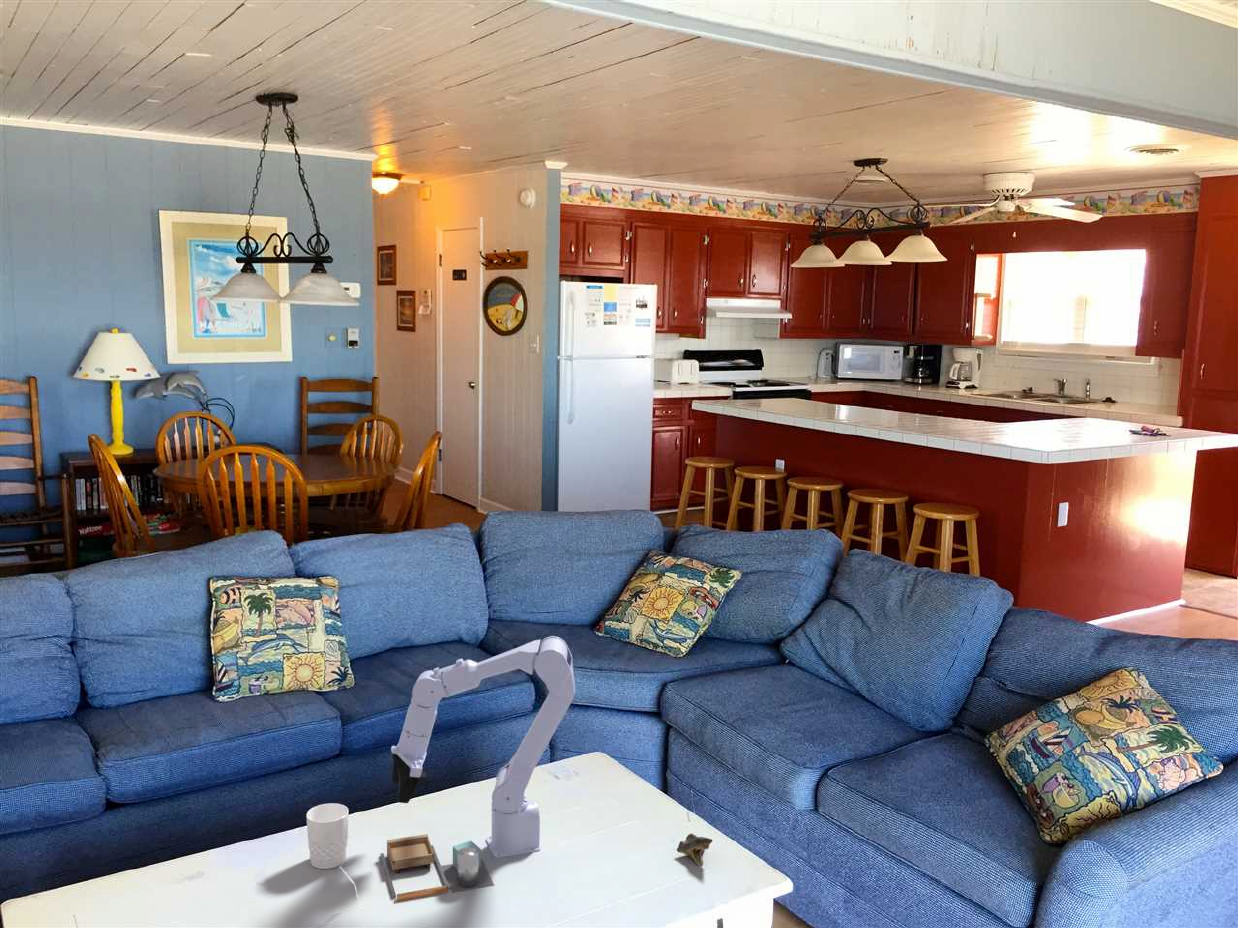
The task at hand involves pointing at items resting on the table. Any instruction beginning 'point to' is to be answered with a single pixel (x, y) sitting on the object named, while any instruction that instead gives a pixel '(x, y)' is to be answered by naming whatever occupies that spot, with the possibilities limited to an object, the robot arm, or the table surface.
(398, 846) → the brown wooden tray
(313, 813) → the white cup
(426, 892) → the track
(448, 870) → the mat
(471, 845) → the part
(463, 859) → the part
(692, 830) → the table surface
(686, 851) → the shark head
